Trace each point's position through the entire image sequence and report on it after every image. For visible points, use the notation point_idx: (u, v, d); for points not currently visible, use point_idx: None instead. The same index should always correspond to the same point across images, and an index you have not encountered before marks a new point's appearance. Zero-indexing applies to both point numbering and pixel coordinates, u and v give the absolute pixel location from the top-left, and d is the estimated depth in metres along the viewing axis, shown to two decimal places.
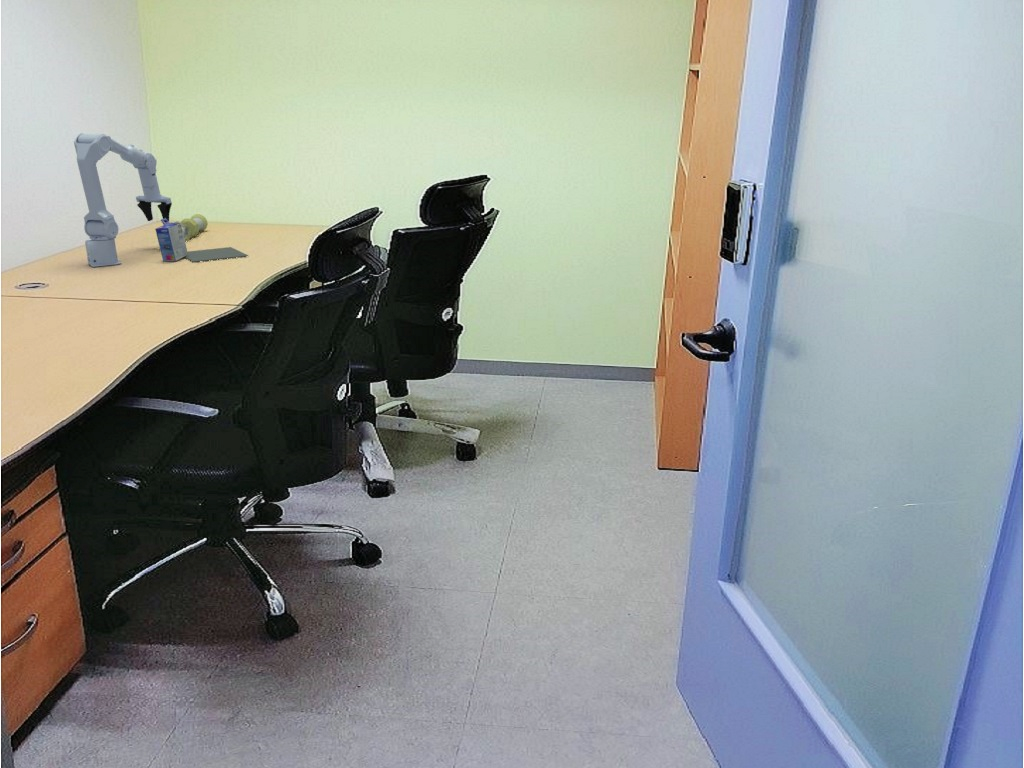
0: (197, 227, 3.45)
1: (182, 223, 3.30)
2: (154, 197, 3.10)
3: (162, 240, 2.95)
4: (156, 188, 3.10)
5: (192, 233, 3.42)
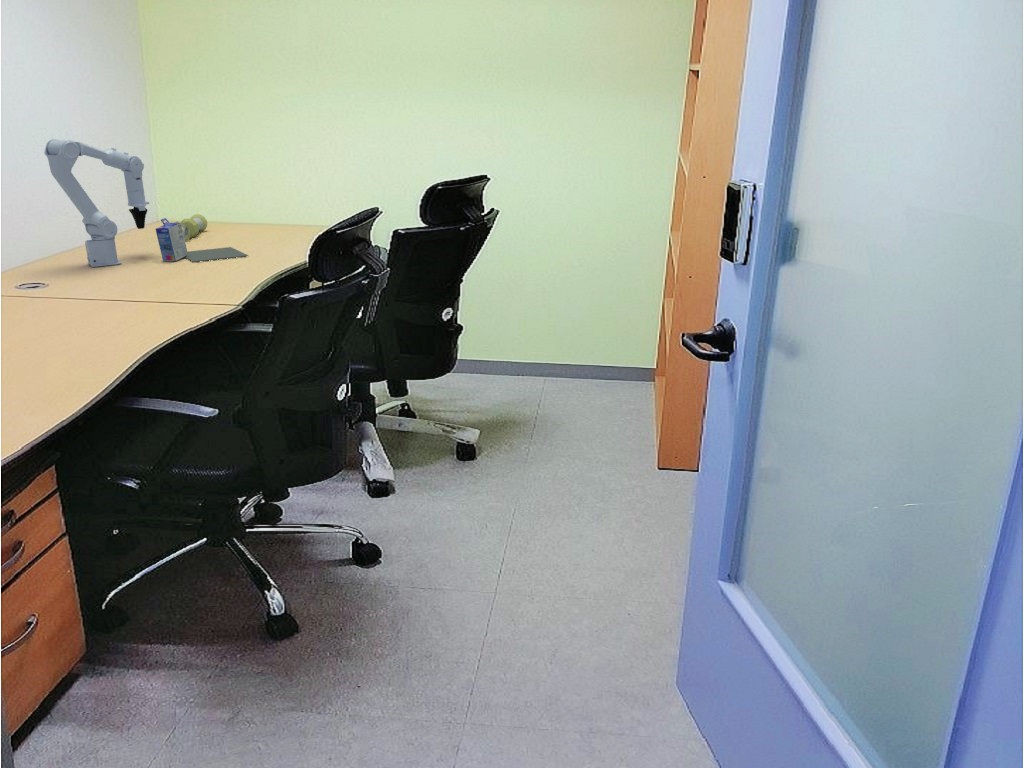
0: (197, 227, 3.45)
1: (182, 223, 3.30)
2: (133, 202, 2.97)
3: (162, 240, 2.95)
4: (136, 193, 2.96)
5: (192, 233, 3.42)
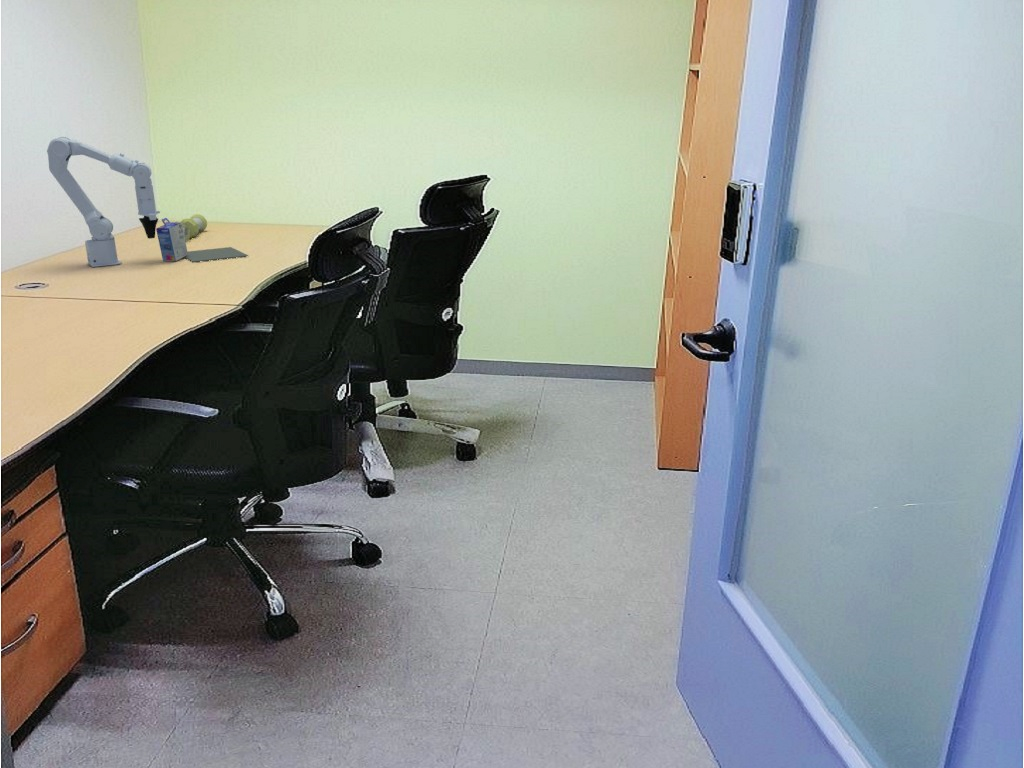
0: (197, 227, 3.44)
1: (182, 223, 3.30)
2: (143, 211, 2.89)
3: (162, 240, 2.95)
4: (147, 202, 2.89)
5: (192, 233, 3.42)
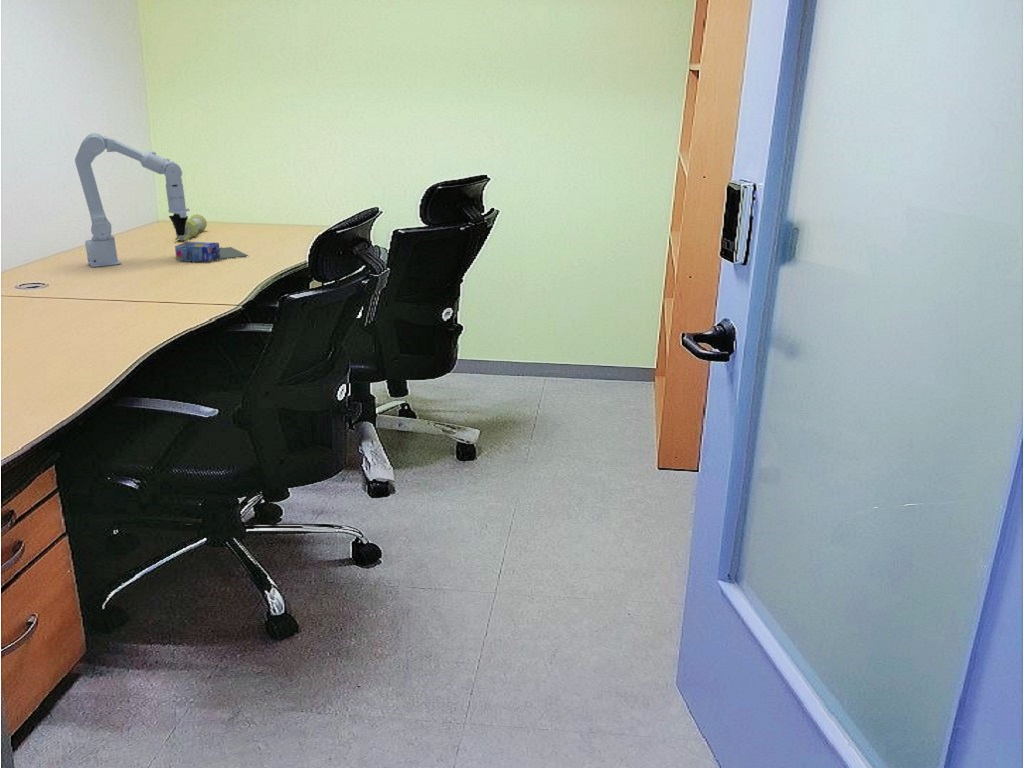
0: (196, 227, 3.44)
1: None
2: (174, 209, 2.95)
3: (195, 251, 2.95)
4: (177, 200, 2.94)
5: (191, 233, 3.42)
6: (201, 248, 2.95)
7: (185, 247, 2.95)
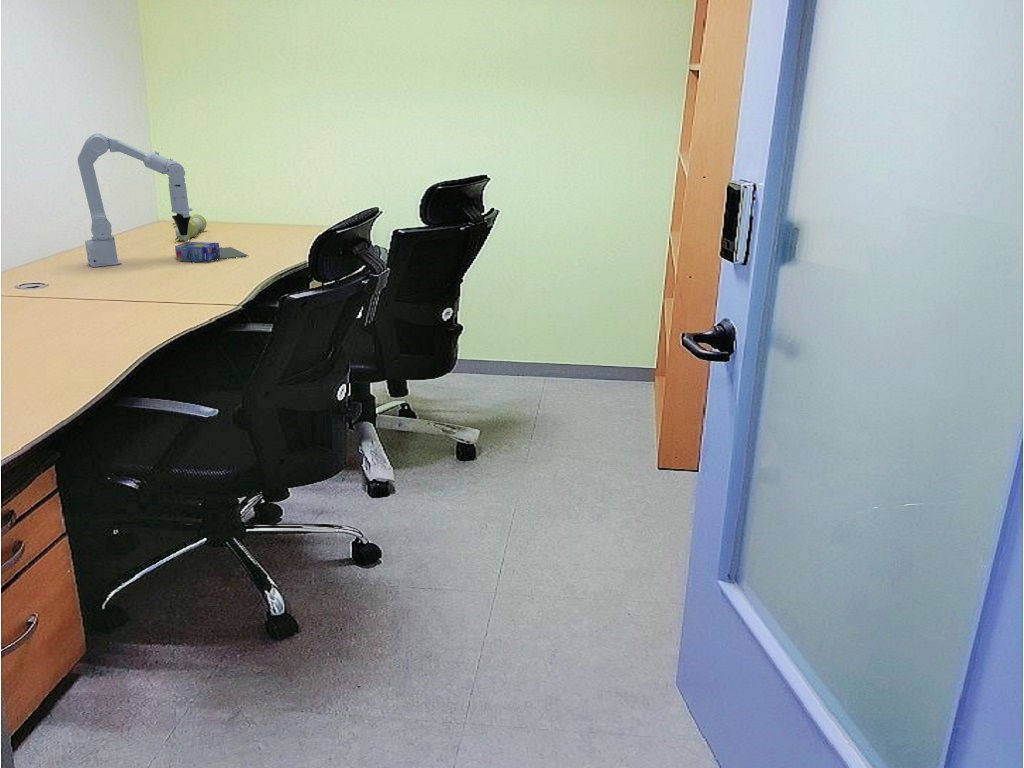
0: (196, 227, 3.44)
1: None
2: (177, 209, 2.96)
3: (195, 251, 2.95)
4: (180, 200, 2.95)
5: (191, 233, 3.42)
6: (201, 248, 2.95)
7: (185, 247, 2.95)
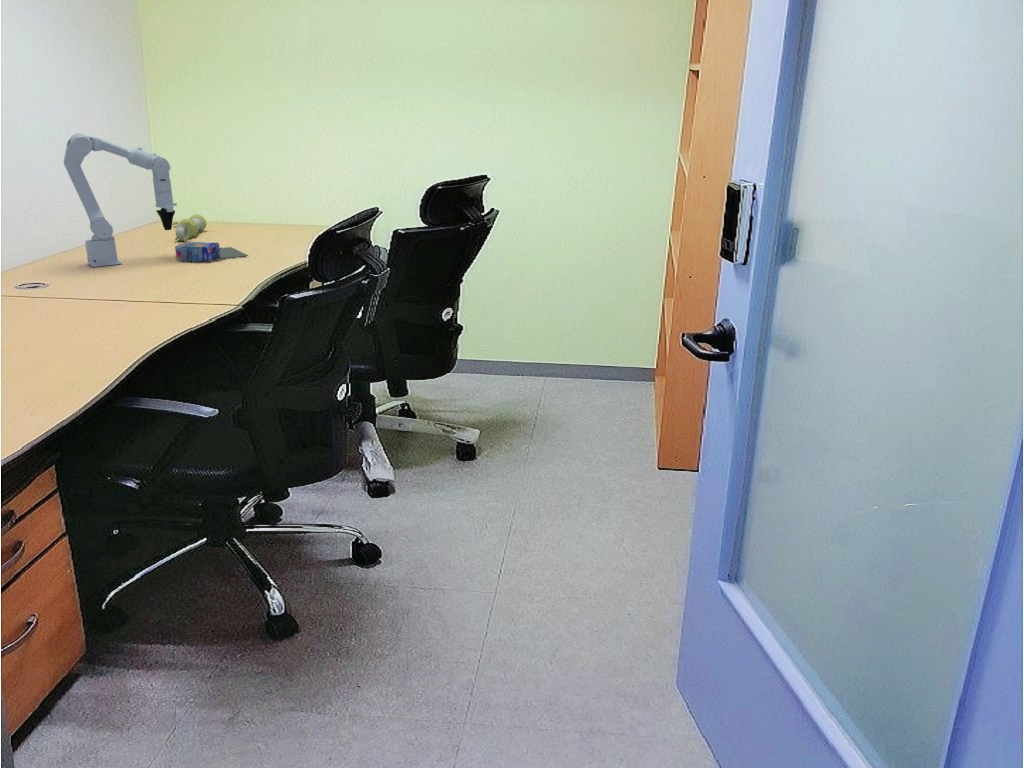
0: (196, 227, 3.44)
1: (182, 223, 3.30)
2: (161, 203, 2.95)
3: (195, 251, 2.95)
4: (164, 194, 2.94)
5: (191, 233, 3.41)
6: (201, 248, 2.95)
7: (185, 247, 2.95)
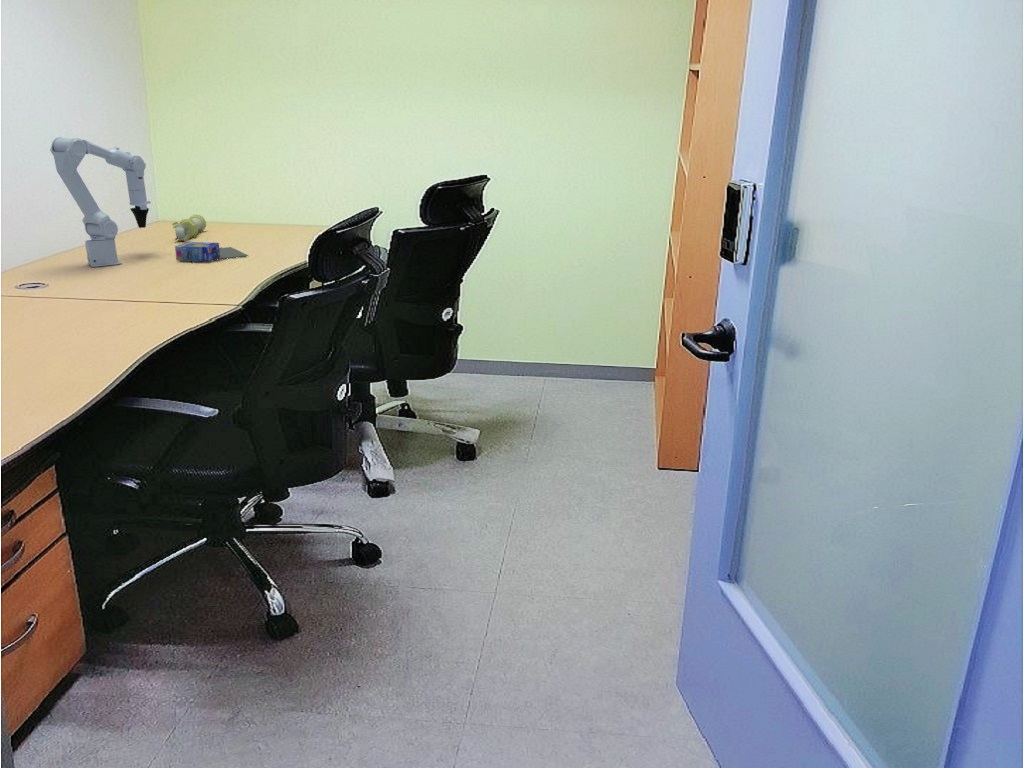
0: (196, 227, 3.44)
1: (182, 223, 3.29)
2: (134, 201, 2.99)
3: (195, 251, 2.95)
4: (138, 193, 2.98)
5: (191, 233, 3.41)
6: (201, 248, 2.95)
7: (185, 247, 2.95)
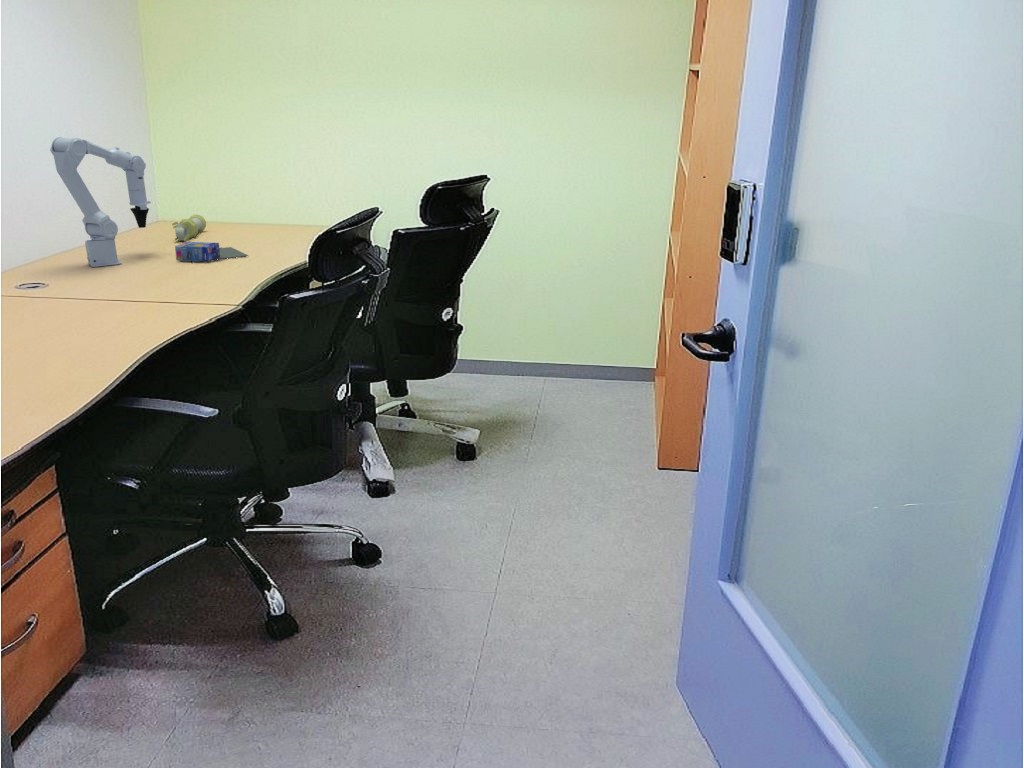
0: (196, 227, 3.44)
1: (182, 223, 3.29)
2: (134, 201, 2.99)
3: (195, 251, 2.95)
4: (138, 193, 2.98)
5: (191, 233, 3.41)
6: (201, 248, 2.95)
7: (185, 247, 2.95)
